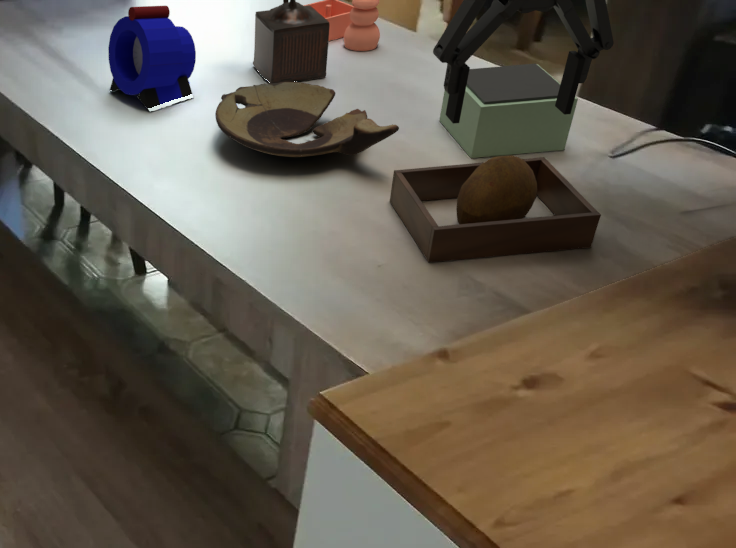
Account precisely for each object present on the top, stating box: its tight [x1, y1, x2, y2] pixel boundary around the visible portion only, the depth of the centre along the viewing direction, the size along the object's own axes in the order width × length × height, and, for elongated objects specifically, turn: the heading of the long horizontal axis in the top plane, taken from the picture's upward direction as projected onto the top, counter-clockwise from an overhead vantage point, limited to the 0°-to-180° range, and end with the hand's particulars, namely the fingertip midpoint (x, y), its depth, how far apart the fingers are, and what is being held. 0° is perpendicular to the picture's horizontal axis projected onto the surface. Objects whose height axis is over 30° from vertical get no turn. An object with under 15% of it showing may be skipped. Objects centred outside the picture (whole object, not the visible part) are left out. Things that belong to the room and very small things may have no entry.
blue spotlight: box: [107, 5, 197, 109], centre depth 155 cm, size 12×12×15 cm
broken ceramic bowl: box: [214, 81, 400, 158], centre depth 138 cm, size 22×30×8 cm
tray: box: [389, 156, 602, 263], centre depth 120 cm, size 17×21×4 cm
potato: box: [455, 154, 538, 224], centre depth 118 cm, size 8×12×9 cm
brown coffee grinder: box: [252, 0, 330, 83], centre depth 159 cm, size 16×11×18 cm
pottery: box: [302, 0, 381, 52], centre depth 173 cm, size 18×10×10 cm, turn 30°
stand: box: [438, 63, 579, 159], centre depth 138 cm, size 14×14×8 cm
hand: (507, 114), depth 112 cm, fingers open, 13 cm apart
